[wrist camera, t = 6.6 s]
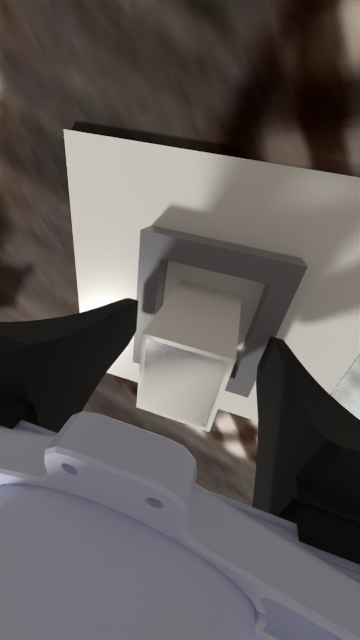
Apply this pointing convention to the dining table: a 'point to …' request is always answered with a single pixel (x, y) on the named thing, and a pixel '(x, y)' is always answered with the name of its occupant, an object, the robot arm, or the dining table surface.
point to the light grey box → (189, 354)
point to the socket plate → (220, 249)
